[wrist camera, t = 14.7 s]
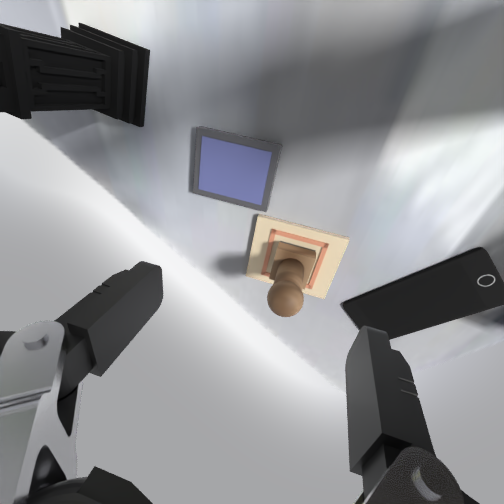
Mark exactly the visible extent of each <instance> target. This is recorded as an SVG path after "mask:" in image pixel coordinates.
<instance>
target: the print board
mask: <svg viewBox="0 0 504 504" xmlns="http://www.w3.org/2000/svg"><path fill="white" fill-rule="evenodd" d="M280 241H284V242H287V243H291V244H294V245H298V246H302V247H305V248H309V249H312V250H316V251H315V252H316V260H315V263H314V266H313V268H312V271H311V274H310V276H309V279H308V282H307V284H306V287H305V290H304V289H302V293H305V294H308V295H312V296H315V297H318V298H322V299H324V298H325V296H326V294H327V292H328V289H329V287H330V285H331V282H332V280H333V278H334V275H335V273H336V271H337V268H338V266H339V264H340V261H341V259H342V257H343V254H344V252H345V250H346V247H347V245H348V243H349V237H345V236H341V235H337V234H333V233H330V232H326V231H322V230H318V229H314V228H311V227H307V226H303V225H299V224H296V223H292V222H288V221H284V220H280V219H277V218H273V217H269V216H265V215H261V214H259V215H258V218H257V223H256V228H255V233H254V238H253V242H252V247H251V252H250V257H249V262H248V267H247V272H246V276H247V277H250V278H254V279H257V280H261V281H264V282H267V283H271V284H274V280H271V279H269V276H270V273H271V269H272V265H273V262H274V258H275V254H276V251H277V247H278V244H279V242H280Z"/></svg>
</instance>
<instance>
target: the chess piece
mask: <svg viewBox="0 0 504 504" xmlns="http://www.w3.org/2000/svg"><path fill="white" fill-rule="evenodd" d="M149 56H150V50H148V49H145V48H143V47H140V46H138V45H135V44H133V43H130V42H128V41H125V40H123V39H120V38H118V37H115V36H113V35H110V34H108V33H105V32H103V31H100V30H98V29H95V28H93V27H90V26H87V25H85V24H82V23H79V27H76V26H73V25H70V30H68V29H65V28H62V27H61V38H59V37H54V36H50V35H46V34H42V33H38V32H34V31H29V30H25V29H21V28H17V27H13V26H9V25H5V24H0V112H6V113H8V114H11V115H13V116H15V117H18V118H20V119H31V111H55V110H87V109H93V110H96V111H98V112H100V113H103V114H105V115H108V116H110V117H113V118H115V119H120V120H122V121H125V122H127V123H131V124H134V125H136V126H139V127H143V126H144V115H145V103H146V92H147V80H148V68H149Z"/></svg>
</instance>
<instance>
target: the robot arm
mask: <svg viewBox="0 0 504 504" xmlns="http://www.w3.org/2000/svg"><path fill="white" fill-rule="evenodd" d="M162 299H163V283H162V269H161V267H160V266H158V265H154V264H151V263H147V262H144V261H141V262H139V263H138V264H136V265H135V266H134V267H133V268H132V269H130V270H124V271H121V272H119V273H117V274H114V275H112V276H111V277H110V278H109V279H107V280H106V281H105V282H103V283H102V285H101V286H98V287H97V288H96V289H94V290H93V292H92V293H89V294H88V295H87V296H86V297H84V298H83V299H82V300H80V301H79V302H78V303H77V304H75V305H74V306H73V307H72V308H70V309H69V310H68V311H67V312H65V313H64V314H63V315H61V316H60V317H59V318H58V319H56V320H55V321H40V322H36V323H32V324H30V325H27V326H25V327H23V328H21V329H20V330H18V331H17V332H13V331H0V504H152V502H150V500H148V498H147V497H146V496H145V495H144V494H143V493H142V492H141V491H139V490H138V489H137V488H136V487H135V486H134V485H133V484H132V483H131V482H130V481H127V480H125V479H123V478H121V477H118V476H116V475H114V474H111V473H109V472H107V471H105V470H102V469H100V468H97V467H94V468H93V470H92V471H91V473H90V474H89V476H88V477H83V478H76V475H77V455H76V433H77V425H78V418H79V410H80V402H81V394H82V386H83V382H82V380H83V379H84V378H85V376H86V375H87V374H88V373H92V374H94V375H97V376H100V377H101V376H102V374H104V372H105V371H106V370H107V369H108V368H109V366H110V365H111V364H112V363H113V362H114V360H115V359H116V358H117V357H118V356H119V355H120V353H121V352H122V351H123V350H124V349H125V348H126V346H127V345H128V344H129V343H130V341H131V340H132V339H133V338H134V337H135V336H136V334H137V333H138V332H139V331H140V330H141V329H142V327H143V326H144V325H145V324H146V323H147V321H148V320H149V319H150V318H151V317H152V316H153V314H154V313H155V312H156V311H157V310H158V308H159V307H160V305H161V302H162ZM345 372H346V394H347V416H348V438H349V439H348V440H349V463H350V472H353V473H356V474H358V475H361V476H363V489H364V490H363V491H362V492H361V493H360V494H359V496H358V497H357V499H356V500H355V502H354V503H353V504H479V503H478V502H476V501H475V500H474V499H472V498H471V497H469V496H468V495H467V494H465V493H464V492H463V491H462V490H461V489H460V487H459V484H458V483H457V481H456V479H455V477H454V476H453V475H452V473H451V472H450V471H449V469H448V468H447V467H446V466H445V465H444V464H443V463H442V462H441V460H439V459H438V458H437V457H436V455H435V452H434V449H433V446H432V442H431V439H430V435H429V432H428V428H427V425H426V421H425V418H424V414H423V411H422V408H421V404H420V401H419V398H418V397H417V395H418V393H417V390H416V386H415V385H414V380H413V376H412V372H411V369H410V366H409V364H408V363H407V362H406V360H405V359H404V357H403V356H402V354H401V353H400V351H396V350H393V349H391V346H390V341H389V337H388V334H387V333H386V332H385V331H381V330H378V329H374V328H371V327H367V326H363V327H362V328H361V329H360V331H359V333H358V335H357V337H356V339H355V341H354V343H353V345H352V347H351V349H350V351H349V353H348V356H347V359H346V367H345Z"/></svg>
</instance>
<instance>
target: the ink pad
mask: <svg viewBox="0 0 504 504" xmlns="http://www.w3.org/2000/svg"><path fill="white" fill-rule="evenodd" d="M281 148H282V145H280V144H276V143H272V142H267V141H263V140H259V139H254V138H250V137H246V136H241V135H237V134H233V133H228V132H224V131H220V130H215V129H211V128H206V127H202V126H199V127H197V131H196V149H195V166H194V184H193V193H195V194H199V195H203V196H207V197H210V198H214V199H218V200H222V201H226V202H229V203H233V204H237V205H241V206H245V207H248V208H252V209H256V210H260V211H264V212H267V210H268V206H269V202H270V197H271V193H272V188H273V184H274V179H275V175H276V170H277V166H278V161H279V157H280V152H281Z"/></svg>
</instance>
